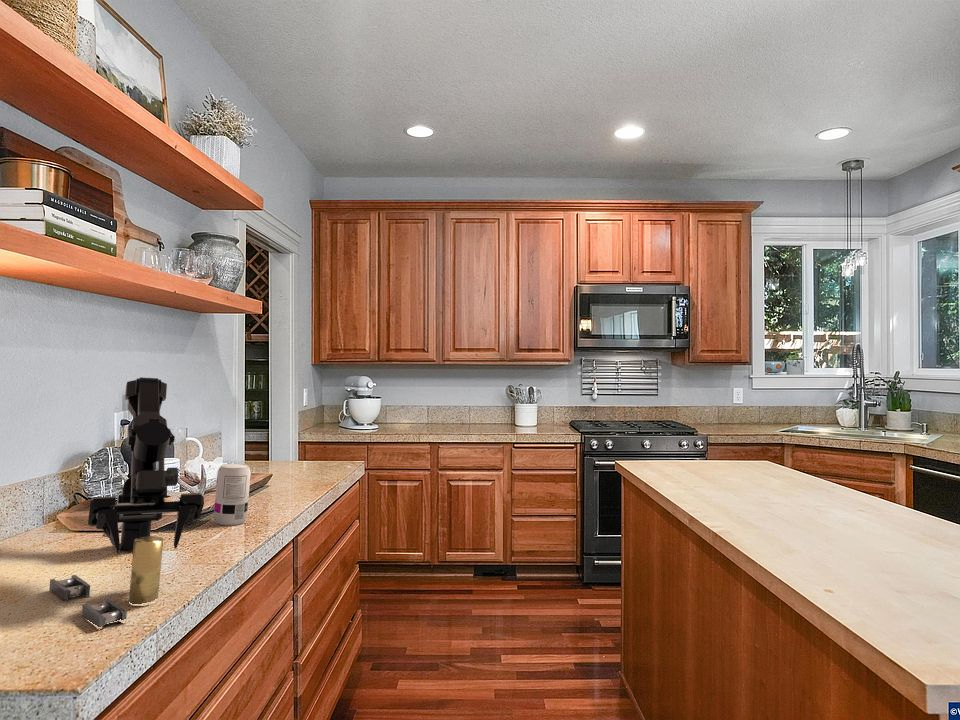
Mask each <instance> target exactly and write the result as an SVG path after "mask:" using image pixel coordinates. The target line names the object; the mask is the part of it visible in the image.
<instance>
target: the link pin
mask: <svg viewBox="0 0 960 720" xmlns="http://www.w3.org/2000/svg"><path fill="white" fill-rule="evenodd" d="M163 546H164V538H163V537H161V536H155V535H150V536H146V537H140V538H137V539H135V540H134V547H133V551H132V561H131V568H130V571H131V572H130V583H129V592H128V595H129V596H128V603H129V602H130V603H132V604H142V603H147V602H151V601H153V600H155V599H157V598H158V599H159V593H160V592H159V591H160V579H161V570H162V557H163Z"/></svg>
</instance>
